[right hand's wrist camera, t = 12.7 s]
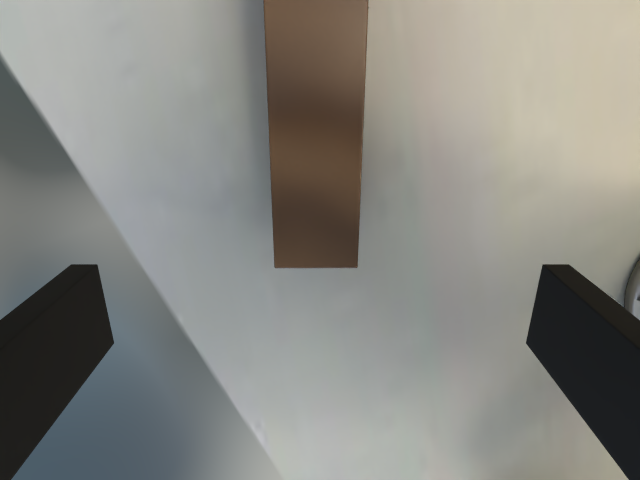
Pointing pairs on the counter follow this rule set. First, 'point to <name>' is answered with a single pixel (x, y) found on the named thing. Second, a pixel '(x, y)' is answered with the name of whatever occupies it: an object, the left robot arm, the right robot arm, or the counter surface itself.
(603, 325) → the right robot arm
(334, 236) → the bar
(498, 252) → the counter surface
